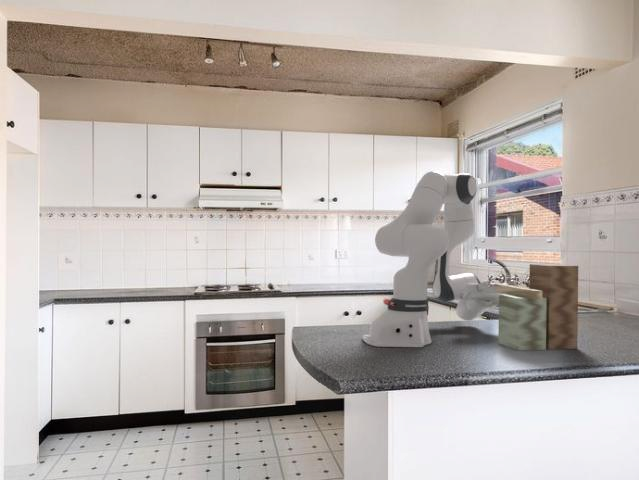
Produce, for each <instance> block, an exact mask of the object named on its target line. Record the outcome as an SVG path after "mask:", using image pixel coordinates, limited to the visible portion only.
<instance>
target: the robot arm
mask: <svg viewBox="0 0 639 480" xmlns="http://www.w3.org/2000/svg"><path fill="white" fill-rule="evenodd" d="M476 194H477V182H476V179H475V177H474V176H473V175H472V174H471V173H466V172H465V173H464V172H463V173H462V172H461V173H454V174H453V173H452V174H442V173H441V172H439V171H436V170H435V171H434V170H432V171H431V170H430V171H428V172H426V173H424V174H423V176H422V177H421V178H420V180H419V181H418V182H417V184H416V186H415V188H414V190H413V193H412V195H411V196H410V197H411V198H410V199H409V201H408V203H407V205H406V206H405V208H404V209H403V211H402V212H401V213H400V214H399V215H397V217H396V218H394V219H393V220H391V221H390V222H389V223H388V224H386V225H383V226H381V227H380V228H379V229H378V230H377V232H376V233H375V237H374V242H375V247H376V249H377V251H378V253H380V254H383V255H387V256H391V257H401V258H402V257H403V258H405V257H406V258H408V261H407V263H406V265H405V266H404V267H403V268H401V269H398V270H397V271H396V272H395V274H394V275H393V289H392V290H393V297H391V299H388V298H383V304H384V305H386V306H387V309H386V310H385V311H383V313H381V314H380V315H378V316H377V317H376V318H374V319H373V320H372V322H371V324H370V328H369V334H364V335H363V337H362V340H363V342H365V343H366V344H367V345H370V346H372V347H373V346H374V347H379V348H380V347H383V348H385V347H386V348H387V347H388V348H389V347H391V348H392V347H393V348H423V347H425V346H427V345H430V344H431V343H432V339H431V334H430V329H429V328H430V327H429V319H428V316H429V309H430V307H429V299H428V284H429V283H428V282H429V275H430V272H431V269H432V268H433V266H434V264H435V266H434V277H433V281H432V287H431V288H432V289H431V290H432V294H433V296H434V298H436V299H437V300H438V301H439V302H441V303H442V304H443V303H444V304H445V303H450V302H452V301H457V300H458V301H457V302H458V303H457V306H456V308H455V312H456V315H457V317H459V319H461V320H464V321H468V322H469V321H473V320H474V321H475V319H477V318H479V317H480V316H482V315H483V314H484V313H485V312H487V311H489V310H491V309H494V308H499V294H505V293H500V292H495V291H494V284H495V283H491V281H490V280H484V281H483V282H481V281H480V279H479V278H478V277H477V276H476V274H473V272H464V273H459V274H454V275H453V274H452V275H449V273H450V257H451V255H452V253H453V252H454V250H455V249H457V248H458V247H460V246H461V245H463V244H464V243H466V242H467V241H469V240H470V239H471V238H472V236H473V235H474V232H475V220H474V211H473V206H472V203H471V202H472V201H473V199H474V198H475V196H476ZM442 207H443V219H444V220H443V221H444V224H443V225H444V226H441V225H436V224H434V223H436V221H437V220H438V218H439V215H440V212H441V210H442ZM504 284H505V285H511V286H517V287H519V285H518V283H516V281H515V280H508V283H504Z"/></svg>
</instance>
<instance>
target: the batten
mask: <svg viewBox="0 0 639 480" xmlns="http://www.w3.org/2000/svg"><path fill="white" fill-rule="evenodd" d="M493 284H494V291H495V292H500V293H505V294H510V295H515V296H520V297H525V298H530V299H542V291H540V290H535V289H529V288H528V287H524V286H523V287H522V286H518V287H517V286H511V285H505V284H506V283H493Z"/></svg>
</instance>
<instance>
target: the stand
mask: <svg viewBox="0 0 639 480" xmlns="http://www.w3.org/2000/svg"><path fill="white" fill-rule="evenodd" d="M528 283H529V284H528V285H529V286H528V287H529V289H535V290H540V291H542V299H530V298H525V297H520V296H515V295H510V294H499V307H498V333H497V334H498V338H497V340H498V341H497V342H498V344H499V345H501V346H504V347H507V348H509V349H512V350H514V351H537V350H538V351H542V350H543V351H545V350H571V349H572V350H573V349H574V350H575V349H578V325H579V324H578V323H579V322H578V321H579V319H578V318H579V316H578V315H579V309H578V308H579V265H569V264H558V263H557V264H556V263H553V264H552V263H549V264H548V263H544V264H543V263H540V264H539V263H536V264H535V263H530V264H529V282H528Z"/></svg>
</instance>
